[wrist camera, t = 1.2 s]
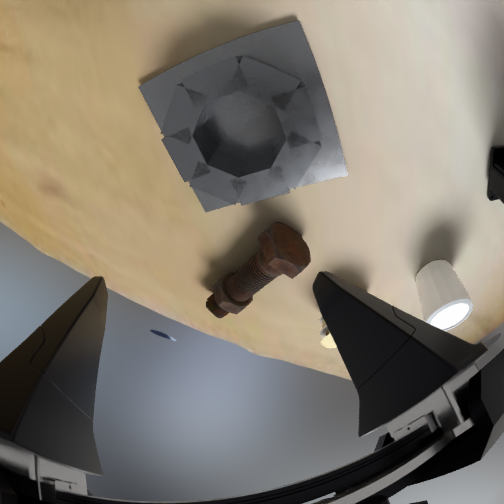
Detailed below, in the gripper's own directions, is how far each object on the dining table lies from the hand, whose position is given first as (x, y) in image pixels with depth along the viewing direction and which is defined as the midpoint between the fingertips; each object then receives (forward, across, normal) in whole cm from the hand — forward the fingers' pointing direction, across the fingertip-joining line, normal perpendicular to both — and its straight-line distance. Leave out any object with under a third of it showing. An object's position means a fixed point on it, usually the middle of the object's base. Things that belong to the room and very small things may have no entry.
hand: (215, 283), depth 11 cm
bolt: (+16, +7, -13) cm, 22 cm away
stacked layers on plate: (+12, +20, -17) cm, 29 cm away
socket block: (+15, +4, +3) cm, 16 cm away
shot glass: (+7, +30, -8) cm, 32 cm away
